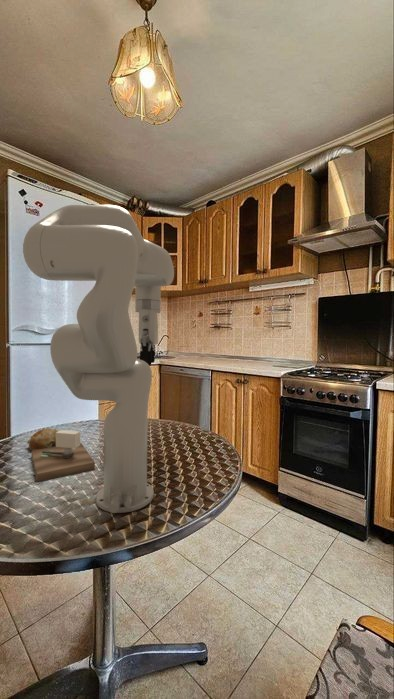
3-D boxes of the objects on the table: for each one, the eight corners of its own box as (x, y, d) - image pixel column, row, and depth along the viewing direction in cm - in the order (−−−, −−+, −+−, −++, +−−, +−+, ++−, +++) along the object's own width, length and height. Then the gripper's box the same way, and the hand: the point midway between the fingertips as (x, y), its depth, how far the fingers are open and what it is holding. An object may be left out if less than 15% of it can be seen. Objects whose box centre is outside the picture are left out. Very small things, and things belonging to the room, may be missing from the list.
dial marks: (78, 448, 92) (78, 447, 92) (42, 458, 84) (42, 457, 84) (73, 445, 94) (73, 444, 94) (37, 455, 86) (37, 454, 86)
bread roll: (40, 466, 92) (49, 444, 91) (17, 448, 95) (25, 426, 94) (64, 454, 102) (72, 434, 100) (43, 438, 104) (50, 418, 103)
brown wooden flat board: (94, 469, 82) (94, 462, 82) (36, 481, 74) (36, 474, 74) (80, 448, 97) (80, 442, 97) (31, 457, 90) (31, 450, 90)
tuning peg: (80, 455, 86) (80, 431, 86) (74, 459, 83) (74, 434, 83) (46, 452, 88) (46, 428, 88) (39, 456, 85) (39, 431, 85)
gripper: (158, 304, 82) (157, 366, 82) (162, 310, 99) (162, 361, 100) (130, 303, 81) (130, 366, 82) (139, 309, 99) (139, 361, 99)
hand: (147, 363), depth 91 cm, fingers open, 9 cm apart
